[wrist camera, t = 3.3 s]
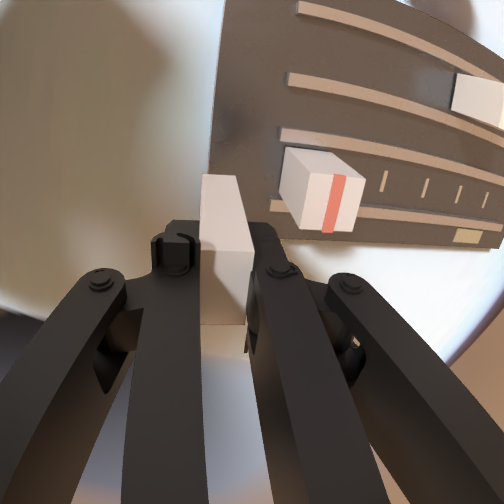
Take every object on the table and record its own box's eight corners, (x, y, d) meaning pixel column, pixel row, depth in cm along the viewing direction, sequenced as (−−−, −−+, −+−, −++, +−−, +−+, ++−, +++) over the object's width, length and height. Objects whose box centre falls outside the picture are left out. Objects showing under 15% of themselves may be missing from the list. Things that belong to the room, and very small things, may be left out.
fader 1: (278, 192, 20) (299, 231, 16) (285, 146, 19) (311, 172, 14) (322, 196, 21) (352, 234, 17) (331, 151, 19) (367, 179, 15)
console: (204, 222, 23) (204, 240, 21) (229, -30, 14) (232, -43, 12) (487, 239, 28) (502, 251, 26) (530, 87, 19) (548, 92, 17)
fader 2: (450, 110, 18) (499, 128, 14) (457, 72, 17) (508, 83, 12) (475, 121, 19) (522, 140, 14) (482, 85, 17) (530, 99, 13)
